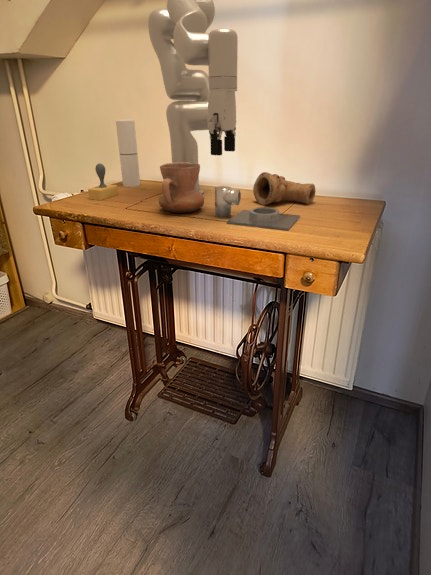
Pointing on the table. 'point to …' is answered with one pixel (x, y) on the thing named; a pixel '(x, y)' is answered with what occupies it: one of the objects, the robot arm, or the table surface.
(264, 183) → the clay pipe
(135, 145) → the cylindrical container
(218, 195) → the grey rounded piece
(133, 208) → the table surface
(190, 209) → the ceramic jug
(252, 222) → the flange
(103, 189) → the rubber stamp
